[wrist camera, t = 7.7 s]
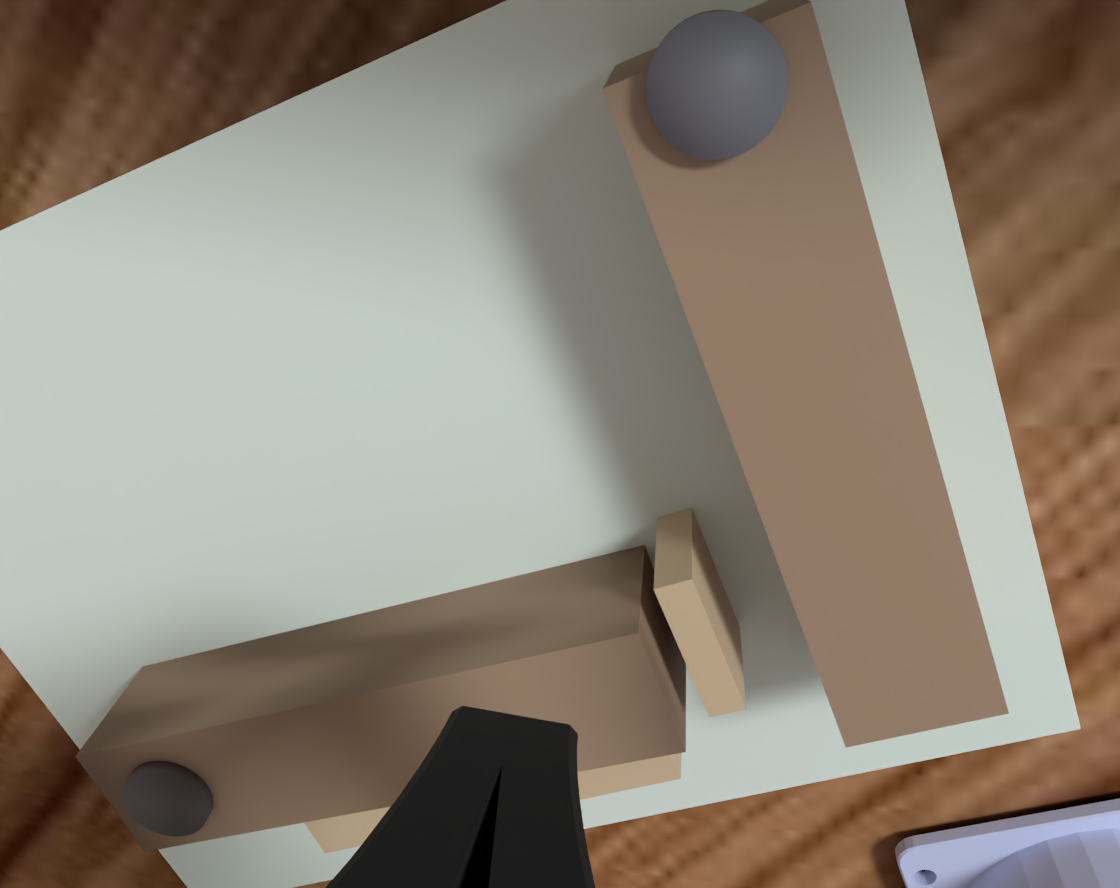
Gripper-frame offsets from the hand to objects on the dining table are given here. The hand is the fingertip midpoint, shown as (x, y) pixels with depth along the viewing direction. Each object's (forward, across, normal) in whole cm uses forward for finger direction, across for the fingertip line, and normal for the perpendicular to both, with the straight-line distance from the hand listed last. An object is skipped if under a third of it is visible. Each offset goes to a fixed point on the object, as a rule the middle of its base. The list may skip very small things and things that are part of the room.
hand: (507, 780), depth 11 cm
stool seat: (+9, +3, +3) cm, 10 cm away
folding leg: (+8, +3, +6) cm, 11 cm away
